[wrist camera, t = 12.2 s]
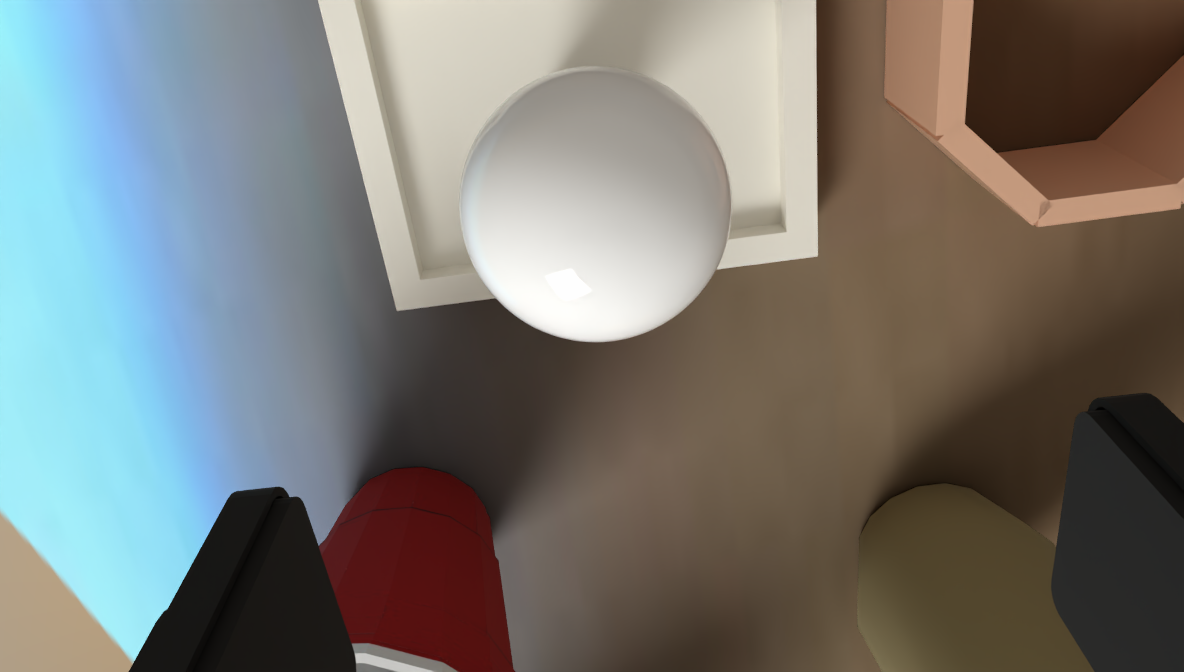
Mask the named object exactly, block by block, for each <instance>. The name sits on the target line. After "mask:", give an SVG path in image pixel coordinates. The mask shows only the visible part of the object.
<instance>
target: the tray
mask: <svg viewBox="0 0 1184 672" xmlns="http://www.w3.org/2000/svg"><path fill="white" fill-rule="evenodd" d="M318 2H319V6H320V10H321V14H322V18H323V22H324V26H325V30H326V34H327V38H328V41H329V45H330V49H331V53H332V57H333V61H334V65H335V69H336V73H337V77H338V81H339V85H340V89H341V93H342V97H343V101H344V105H345V109H346V113H347V116H348V120H349V124H350V128H351V132H352V136H353V140H354V144H355V148H356V152H357V156H358V160H359V164H360V168H361V172H362V176H363V180H364V184H365V187H366V191H367V195H368V199H369V203H370V207H371V211H372V215H373V219H374V223H375V227H376V231H377V235H378V239H379V243H380V247H381V251H382V255H383V259H384V262H385V266H386V270H387V274H388V278H389V282H390V286H391V290H392V294H393V298H394V302H395V306H396V310H397V311H401V310H409V309H416V308H424V307H432V306H439V305H447V304H455V303H462V302H470V301H478V300H486V299H493V298H495V297H494V296H493V295H492V293H491V292H490V291H489V290H488V288H487V287H486V286H485V284H484V283H483V282H482V280H481V278H480V277H479V275H478V273H477V272H476V270H475V268H474V266H473V264H472V262H471V259H470V257H469V255H468V252H467V249H466V246H465V243H464V239H463V235H462V231H461V225H460V217H459V189H460V182H461V177H462V172H463V168H464V165H465V161H466V158H467V156H468V153H469V150H470V148H471V146H472V144H473V142H474V140H475V138H476V136H477V134H478V133H479V131H480V129H481V128H482V126H483V125H484V123H485V122H486V121H487V119H488V118H489V117H490V116H491V114H492V113H493V112H494V111H495V110H496V109H497V108H498V107H499V106H500V105H501V104H502V103H503V102H504V101H505V100H506V99H507V98H508V97H510V96H511V95H512V94H513V93H515V92H516V91H517V90H519V89H520V88H522V87H523V86H525V85H527V84H528V83H530V82H532V81H534V80H536V79H538V78H540V77H543V76H545V75H548V74H550V73H553V72H556V71H560V70H564V69H568V68H573V67H581V66H611V67H618V68H624V69H628V70H632V71H635V72H638V73H641V74H644V75H646V76H649V77H651V78H653V79H655V80H658V81H659V82H661V83H663V84H665V85H666V86H668V87H670V88H671V89H673V90H674V91H675V92H677V93H678V94H679V95H681V96H682V97H683V98H684V99H686V100H687V101H688V102H689V103H690V104H691V105H692V106H693V107H694V108H695V109H696V110H697V111H698V113H699V114H700V115H701V116H702V117H703V119H704V120H705V121H706V123H707V124H708V126H709V127H710V129H711V130H712V132H713V133H714V135H715V137H716V139H717V141H718V143H719V145H720V147H721V150H722V152H723V155H724V157H725V160H726V164H727V167H728V171H729V175H730V181H731V188H732V221H731V228H730V233H729V238H728V241H727V245H726V248H725V251H724V254H723V256H722V259H721V261H720V263H719V265H718V267H717V269H724V268H732V267H739V266H747V265H755V264H762V263H770V262H778V261H786V260H793V259H801V258H809V257H816V256H818V218H817V70H816V0H318Z"/></svg>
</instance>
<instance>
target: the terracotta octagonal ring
mask: <svg viewBox="0 0 1184 672" xmlns="http://www.w3.org/2000/svg"><path fill="white" fill-rule="evenodd" d="M973 1H974V0H887V14H886V49H885V84H884V97H885V98H886V99H887V101H886V102H887V103H888V104H889V105H890V106H891V107H893V108H894V109H895V110H896V111H897V112H898V113H899V114H900V115H902V116H903V117H904V118H905V119H906V120H907V121H908V122H910V123H911V124H912V125H913V126H914V127H915V128H916V129H917V130H919V131H920V132H921V133H922V134H923V135H924V136H925V137H926V138H928V139H929V140H930V141H931V142H932V143H933V144H934V145H935V146H937V147H938V148H939V149H940V150H941V151H942V152H943V153H944V154H946V155H947V156H948V157H949V158H950V159H951V160H952V161H954V162H955V163H956V164H957V165H958V166H959V167H960V168H961V169H963V170H964V171H965V172H966V173H967V174H968V175H969V176H970V177H972V178H973V179H974V180H975V181H977V182H978V183H979V184H980V185H982V186H983V187H984V188H986V189H987V190H988V191H989V192H991V193H992V194H993V195H994V196H996V197H997V198H998V199H999V200H1001V201H1002V202H1003V203H1004V204H1006V205H1007V206H1008V207H1010V208H1011V209H1012V210H1013V211H1015V212H1016V213H1017V214H1018V215H1020V216H1021V217H1022V218H1023V219H1025V220H1026V221H1027V222H1028V223H1030V224H1031V225H1032V226H1033V225H1036V226H1037V227H1042V226H1049V225H1057V224H1065V223H1072V222H1080V221H1088V220H1096V219H1103V218H1111V217H1119V216H1126V215H1134V214H1142V213H1149V212H1157V211H1165V210H1172V209H1180V207H1181V203H1182V204H1184V55H1183V56H1182V57H1181V58H1180V59H1179V60H1178V61H1177V62H1176V63H1175V64H1174V65H1173V66H1172V67H1171V68H1170V69H1169V70H1168V71H1167V72H1166V73H1164V74H1163V75H1162V76H1161V77H1160V78H1159V79H1158V80H1157V81H1156V82H1155V83H1154V84H1153V85H1152V86H1151V87H1150V88H1149V89H1148V90H1147V91H1146V92H1145V93H1144V94H1143V95H1142V96H1141V97H1140V98H1139V99H1138V100H1137V101H1136V102H1135V103H1133V104H1132V105H1131V106H1130V107H1129V108H1128V109H1127V110H1126V111H1125V112H1124V113H1123V114H1122V115H1121V116H1120V117H1119V118H1118V119H1117V120H1116V121H1115V122H1114V123H1113V124H1112V125H1111V126H1110V127H1109V128H1108V129H1107V130H1106V131H1105V132H1104V133H1103V134H1101V135H1100V136H1099V137H1098V138H1097V139H1096V140H1091V141H1083V142H1076V143H1068V144H1060V145H1053V146H1045V147H1038V148H1030V149H1023V150H1015V151H1007V152H1000V153H996V152H995V151H994V150H993V149H992V148H990V147H989V146H988V145H987V144H986V143H985V142H984V141H983V140H982V139H981V138H979V137H978V136H977V135H976V134H975V133H974V132H973V131H972V130H971V129H970V128H969V127H967V126H966V125H965V114H966V100H967V86H968V72H969V58H970V44H971V29H972V15H973Z"/></svg>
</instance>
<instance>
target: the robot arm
mask: <svg viewBox="0 0 1184 672" xmlns="http://www.w3.org/2000/svg"><path fill="white" fill-rule="evenodd" d="M1051 591H1052V597H1053V601H1054V604H1055V607H1056V610H1057V612H1058V614H1059V616H1060V617H1061V619H1062V620H1063V622H1064V624H1065V625H1066V627H1067V628H1068V630H1069V632H1070V633H1071V635H1072V636H1073V638H1074V640H1075V641H1076V643H1077V644H1078V646H1079V648H1080V649H1081V651H1082V652H1083V654H1084V656H1085V657H1086V659H1087V660H1088V662H1089V664H1090V665H1091V667H1092V668H1093V670H1094V672H1184V423H1183V422H1182V421H1181V420H1180V419H1179V418H1177V417H1176V416H1175V415H1174V414H1173V413H1172V412H1171V411H1170V410H1169V409H1168V408H1167V407H1166V406H1165V405H1164V404H1163V403H1162V402H1161V401H1160V400H1159V399H1157V398H1156V397H1155V396H1153V395H1152V394H1148V393H1139V394H1129V395H1120V396H1111V397H1102V398H1097V399H1095V400H1093V401H1092V403H1091V404H1090V406H1089V409H1088V411H1087V412H1081V413H1079V414H1078V415H1077V417H1076V419H1075V423H1074V429H1073V436H1072V443H1071V449H1070V456H1069V463H1068V470H1067V477H1066V484H1065V491H1064V497H1063V504H1062V511H1061V518H1060V525H1059V532H1058V539H1057V545H1056V552H1055V559H1054V566H1053V573H1052V580H1051ZM129 672H356V658H355V653H354V649H353V646H352V643H351V640H350V637H349V634H348V632H347V629H346V626H345V623H344V620H343V617H342V614H341V611H340V608H339V605H338V602H337V599H336V596H335V593H334V590H333V587H332V585H331V582H330V579H329V576H328V573H327V570H326V567H325V564H324V561H323V558H322V555H321V552H320V549H319V546H318V543H317V540H316V538H315V535H314V532H313V529H312V526H311V523H310V520H309V517H308V514H307V511H306V508H305V506H304V503H303V501H302V500H301V499H300V498H299V497H289V495H288V493H287V492H286V491H285V489H284V488H282V487H271V488H262V489H253V490H244V491H236V492H234V493H232V494H231V495H230V497H229V498H228V500H227V501H226V503H225V505H224V507H223V509H222V511H221V512H220V514H219V516H218V518H217V520H216V521H215V523H214V525H213V527H212V529H211V531H210V532H209V534H208V536H207V538H206V540H205V542H204V543H203V545H202V547H201V549H200V551H199V553H198V554H197V556H196V558H195V560H194V562H193V564H192V565H191V567H190V569H189V571H188V573H187V575H186V576H185V578H184V580H183V582H182V584H181V586H180V587H179V589H178V591H177V593H176V595H175V597H174V598H173V600H172V602H171V604H170V606H169V608H168V609H167V610H166V611H164V612H163V614H162V615H161V616H160V618H159V619H158V620H157V622H156V623H155V625H154V627H153V629H152V631H151V632H150V634H149V636H148V638H147V640H146V641H145V643H144V645H143V647H142V649H141V650H140V652H139V654H138V656H137V658H136V660H135V661H134V663H133V665H132V667H131V669H130V670H129Z"/></svg>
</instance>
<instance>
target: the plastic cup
mask: <svg viewBox="0 0 1184 672" xmlns="http://www.w3.org/2000/svg"><path fill="white" fill-rule="evenodd" d="M319 549H320V552H321V555H322V558H323V561H324V564H325V567H326V570H327V573H328V576H329V579H330V582H331V585H332V587H333V590H334V593H335V596H336V599H337V602H338V605H339V608H340V611H341V614H342V617H343V620H344V623H345V626H346V629H347V632H348V634H349V637H350V640H351V643H352V646H353V649H354V653H355V658H356V672H515V671H514V669H513V663H512V656H511V648H510V641H509V634H508V627H507V619H506V612H505V605H504V598H503V590H502V583H501V576H500V569H499V562H498V560H497V558H496V557H495V552H494V545H493V538H492V531H491V524H490V517H489V516H488V514H487V513H486V508H485V506H484V505H483V503H482V502H481V500H480V499H479V498H478V496H477V495H476V493H475V492H474V490H473V489H472V488H471V487H469V486H468V485H466V484H465V483H463V482H462V481H460V480H459V479H457V478H456V477H454V476H452V475H451V474H449V473H445V472H441V471H437V470H433V469H429V468H425V467H414V468H400V469H393V470H391V471H388V472H386V473H384V474H381V475H379V476H377V477H374V478H372V479H370V480H369V481H368V482H367V483H366V484H365V485H364V486H363V487H362V488H361V489H360V490H359V492H358V493H357V494H356V495H355V496H354V497H353V498H352V499H351V500H350V501H349V502H348V503H347V504H346V505H345V507H344V509H343V510H342V512H341V514H340V516H339V517H338V519H337V521H336V522H335V524H334V526H333V528H332V529H331V531H330V533H329V535H328V536H327V538H326V539H325V540H324V541H323V542H322V543H321V544H320V545H319Z"/></svg>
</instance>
